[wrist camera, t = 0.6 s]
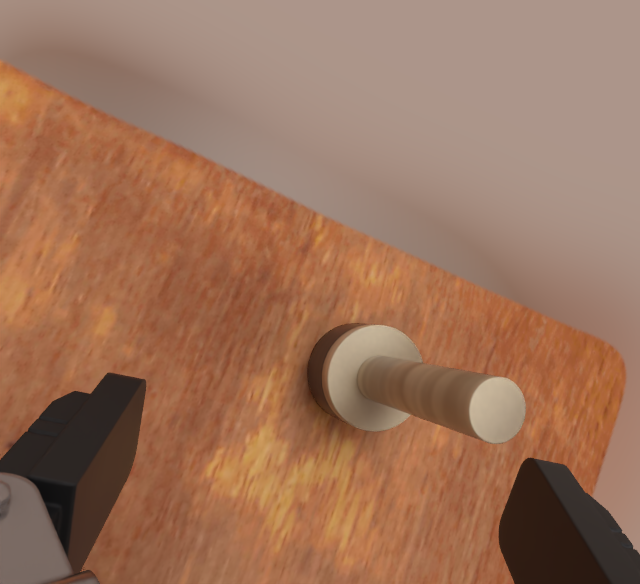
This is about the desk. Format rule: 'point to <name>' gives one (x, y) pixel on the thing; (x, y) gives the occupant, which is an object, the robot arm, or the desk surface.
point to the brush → (407, 386)
